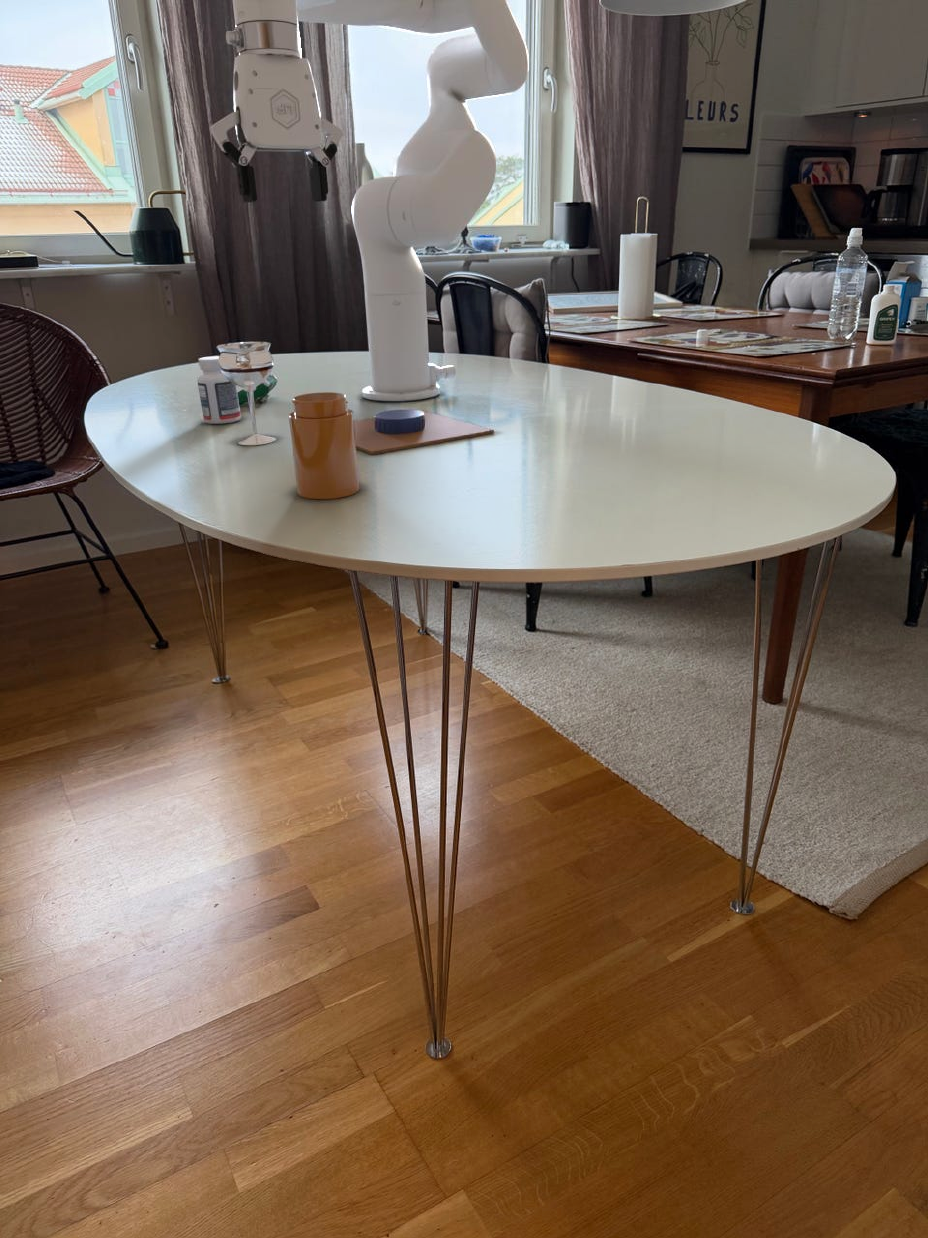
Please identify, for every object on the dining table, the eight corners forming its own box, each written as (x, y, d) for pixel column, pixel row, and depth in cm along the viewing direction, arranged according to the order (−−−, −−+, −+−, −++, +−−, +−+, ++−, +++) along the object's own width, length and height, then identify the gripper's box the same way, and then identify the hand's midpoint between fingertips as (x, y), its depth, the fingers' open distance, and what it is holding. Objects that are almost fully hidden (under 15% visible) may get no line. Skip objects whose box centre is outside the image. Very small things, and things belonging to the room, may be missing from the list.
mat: (422, 412, 125) (422, 410, 125) (494, 432, 111) (494, 429, 111) (309, 430, 116) (309, 427, 116) (372, 454, 103) (371, 451, 102)
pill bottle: (246, 416, 126) (237, 354, 123) (234, 424, 122) (224, 359, 118) (211, 417, 127) (202, 355, 123) (198, 424, 122) (188, 360, 119)
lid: (390, 436, 110) (389, 421, 109) (366, 428, 115) (365, 413, 114) (434, 428, 113) (433, 414, 112) (409, 421, 118) (408, 407, 117)
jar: (342, 479, 93) (334, 388, 89) (370, 491, 88) (363, 396, 84) (287, 489, 90) (276, 396, 86) (313, 503, 85) (302, 405, 81)
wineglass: (264, 432, 116) (252, 340, 111) (293, 439, 112) (281, 343, 107) (220, 441, 112) (205, 346, 107) (247, 449, 107) (234, 349, 102)
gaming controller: (248, 417, 135) (271, 389, 133) (228, 400, 134) (252, 372, 132) (261, 406, 143) (283, 380, 142) (243, 390, 142) (265, 363, 140)
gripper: (210, 33, 97) (231, 201, 104) (346, 45, 106) (358, 199, 113) (189, 45, 103) (211, 203, 110) (321, 56, 111) (333, 201, 119)
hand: (285, 201), depth 111 cm, fingers open, 9 cm apart
